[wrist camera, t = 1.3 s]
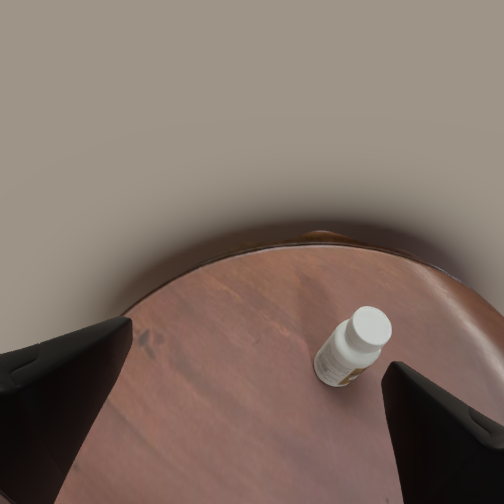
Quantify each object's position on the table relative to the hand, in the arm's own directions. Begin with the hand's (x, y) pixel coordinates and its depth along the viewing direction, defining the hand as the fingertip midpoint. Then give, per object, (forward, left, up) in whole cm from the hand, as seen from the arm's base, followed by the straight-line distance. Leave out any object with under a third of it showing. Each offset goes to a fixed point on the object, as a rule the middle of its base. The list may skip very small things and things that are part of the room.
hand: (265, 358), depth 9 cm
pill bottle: (+3, -11, -15) cm, 19 cm away
